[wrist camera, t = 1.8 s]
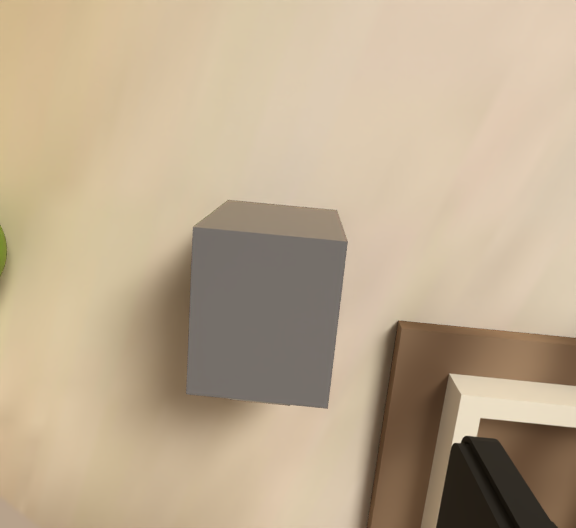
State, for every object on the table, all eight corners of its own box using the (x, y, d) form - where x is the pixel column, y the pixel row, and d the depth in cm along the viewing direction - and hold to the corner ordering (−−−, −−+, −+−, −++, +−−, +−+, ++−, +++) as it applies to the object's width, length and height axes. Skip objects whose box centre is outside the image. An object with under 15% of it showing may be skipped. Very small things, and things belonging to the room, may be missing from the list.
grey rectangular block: (336, 210, 23) (347, 241, 16) (320, 355, 25) (324, 438, 18) (228, 200, 23) (192, 226, 16) (219, 345, 25) (185, 424, 18)
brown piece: (694, 349, 24) (748, 379, 21) (610, 616, 28) (645, 672, 25) (398, 320, 24) (410, 346, 21) (357, 588, 28) (362, 640, 25)
